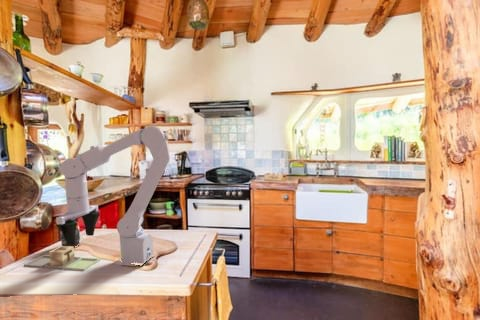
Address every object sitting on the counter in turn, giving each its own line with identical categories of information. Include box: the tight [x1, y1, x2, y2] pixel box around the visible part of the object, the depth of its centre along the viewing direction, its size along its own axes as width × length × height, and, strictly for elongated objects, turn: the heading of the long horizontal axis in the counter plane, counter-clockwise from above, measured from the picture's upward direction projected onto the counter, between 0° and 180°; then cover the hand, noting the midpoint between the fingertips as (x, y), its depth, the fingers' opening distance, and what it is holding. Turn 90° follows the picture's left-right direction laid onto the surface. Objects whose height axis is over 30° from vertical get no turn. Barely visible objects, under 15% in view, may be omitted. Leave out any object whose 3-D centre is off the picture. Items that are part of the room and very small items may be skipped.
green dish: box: [64, 257, 102, 272], centre depth 85 cm, size 7×7×1 cm
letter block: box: [48, 245, 76, 266], centre depth 87 cm, size 5×5×5 cm
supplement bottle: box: [59, 219, 82, 247], centre depth 100 cm, size 6×6×11 cm
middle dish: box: [43, 256, 82, 270], centre depth 87 cm, size 7×7×1 cm
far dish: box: [23, 254, 50, 269], centre depth 88 cm, size 7×7×1 cm
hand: (81, 239), depth 85 cm, fingers open, 7 cm apart
